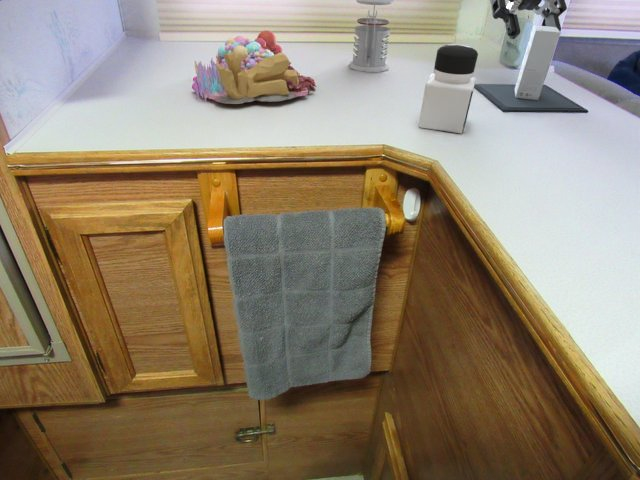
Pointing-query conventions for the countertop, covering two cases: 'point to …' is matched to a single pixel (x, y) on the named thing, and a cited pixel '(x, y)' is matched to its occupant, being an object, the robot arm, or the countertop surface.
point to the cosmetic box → (536, 62)
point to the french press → (371, 41)
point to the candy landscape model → (250, 73)
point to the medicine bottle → (449, 89)
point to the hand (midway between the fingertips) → (535, 36)
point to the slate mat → (508, 102)
